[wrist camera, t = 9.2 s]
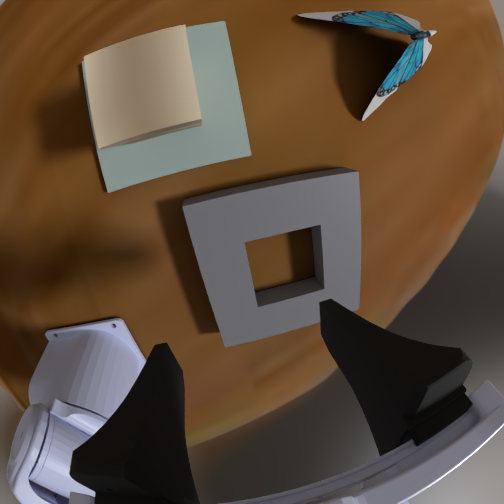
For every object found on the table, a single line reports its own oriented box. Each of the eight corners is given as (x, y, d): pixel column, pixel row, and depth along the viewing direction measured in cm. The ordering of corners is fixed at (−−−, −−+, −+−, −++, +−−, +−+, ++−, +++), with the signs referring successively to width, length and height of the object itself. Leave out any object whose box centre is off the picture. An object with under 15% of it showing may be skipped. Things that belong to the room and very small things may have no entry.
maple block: (135, 143, 15) (98, 149, 9) (124, 82, 14) (83, 56, 7) (201, 125, 16) (202, 118, 10) (190, 64, 14) (185, 24, 8)
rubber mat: (110, 191, 17) (108, 192, 16) (84, 63, 12) (81, 61, 12) (250, 154, 18) (251, 155, 17) (224, 23, 13) (225, 20, 13)
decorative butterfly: (466, 82, 14) (428, 118, 12) (412, 88, 20) (359, 124, 18) (413, -20, 9) (347, -25, 8) (363, 2, 15) (292, 14, 14)
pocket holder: (223, 332, 23) (225, 347, 22) (183, 199, 18) (182, 206, 16) (348, 297, 24) (358, 308, 23) (344, 167, 19) (358, 171, 17)
